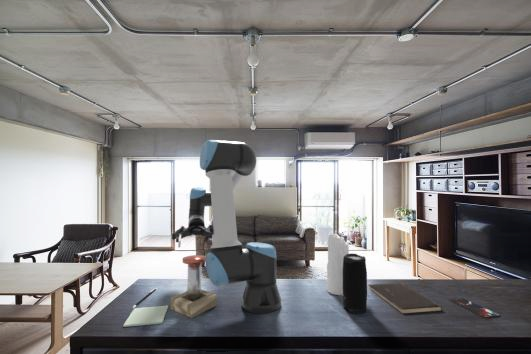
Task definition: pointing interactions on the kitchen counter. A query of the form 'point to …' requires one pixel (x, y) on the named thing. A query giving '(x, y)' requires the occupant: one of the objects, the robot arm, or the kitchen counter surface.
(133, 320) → the sage pad
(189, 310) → the block
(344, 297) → the portable speaker
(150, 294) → the pen
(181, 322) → the kitchen counter surface
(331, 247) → the decorative vase
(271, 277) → the robot arm
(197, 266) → the steel peg
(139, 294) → the kitchen counter surface
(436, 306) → the hardcover book
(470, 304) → the smartphone
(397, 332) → the kitchen counter surface
